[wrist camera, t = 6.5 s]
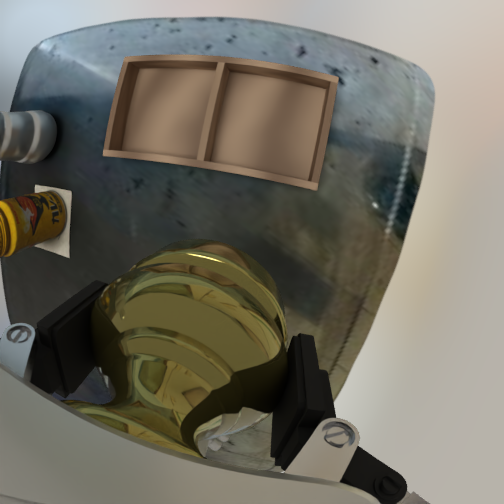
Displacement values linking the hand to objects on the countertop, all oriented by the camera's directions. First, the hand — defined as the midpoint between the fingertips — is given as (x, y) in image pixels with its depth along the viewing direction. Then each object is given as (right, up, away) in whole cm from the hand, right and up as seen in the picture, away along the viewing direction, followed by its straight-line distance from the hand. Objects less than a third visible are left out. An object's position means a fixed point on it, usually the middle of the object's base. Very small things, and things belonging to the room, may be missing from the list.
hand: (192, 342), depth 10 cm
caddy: (-1, +16, +14) cm, 21 cm away
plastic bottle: (-23, +18, +16) cm, 34 cm away
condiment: (-23, +8, +19) cm, 31 cm away
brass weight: (0, +1, +3) cm, 3 cm away
